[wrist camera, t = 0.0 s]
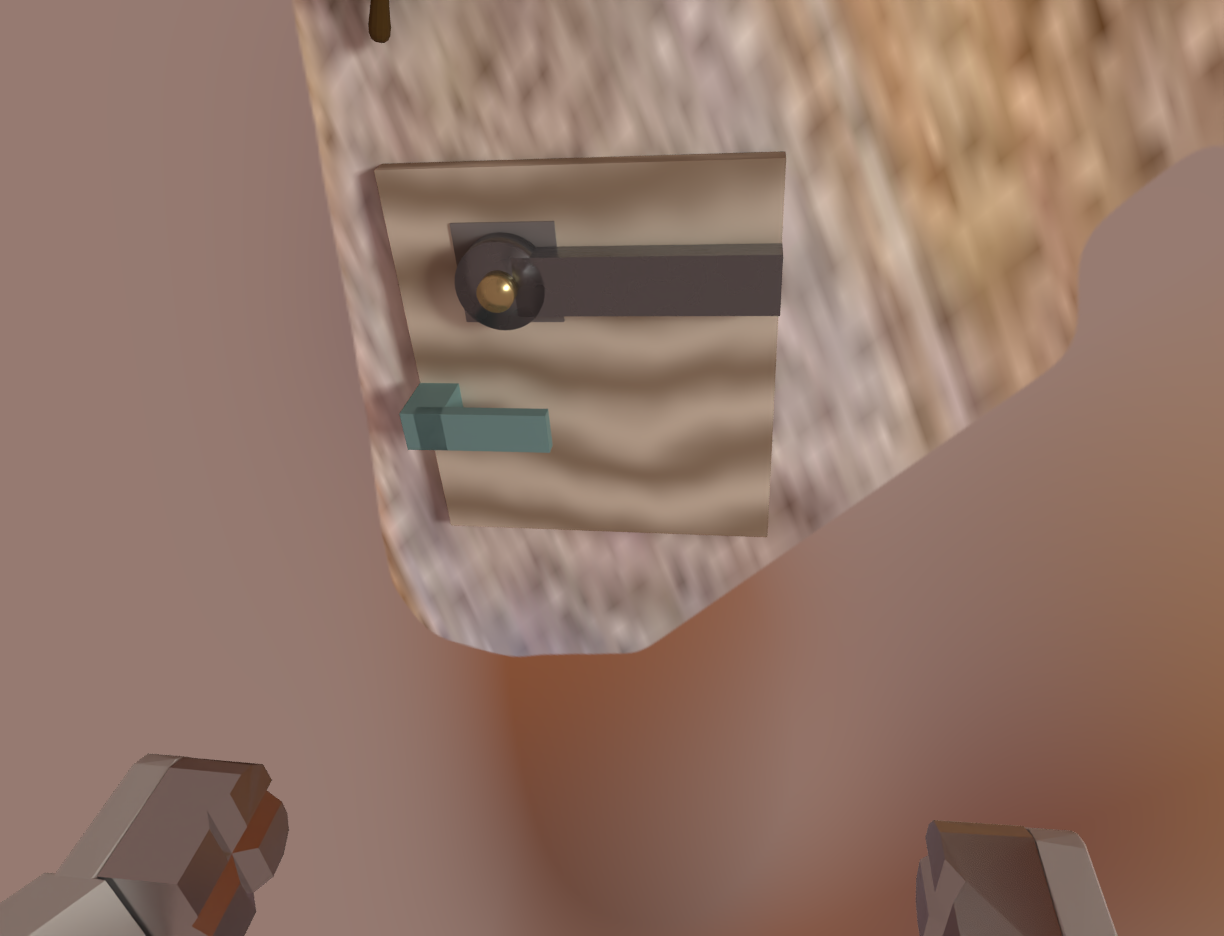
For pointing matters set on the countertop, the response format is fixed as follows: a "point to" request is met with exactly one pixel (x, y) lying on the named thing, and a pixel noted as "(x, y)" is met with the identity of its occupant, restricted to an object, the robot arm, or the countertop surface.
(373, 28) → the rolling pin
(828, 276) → the countertop surface
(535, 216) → the board
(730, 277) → the lever
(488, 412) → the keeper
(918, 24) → the countertop surface
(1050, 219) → the countertop surface
